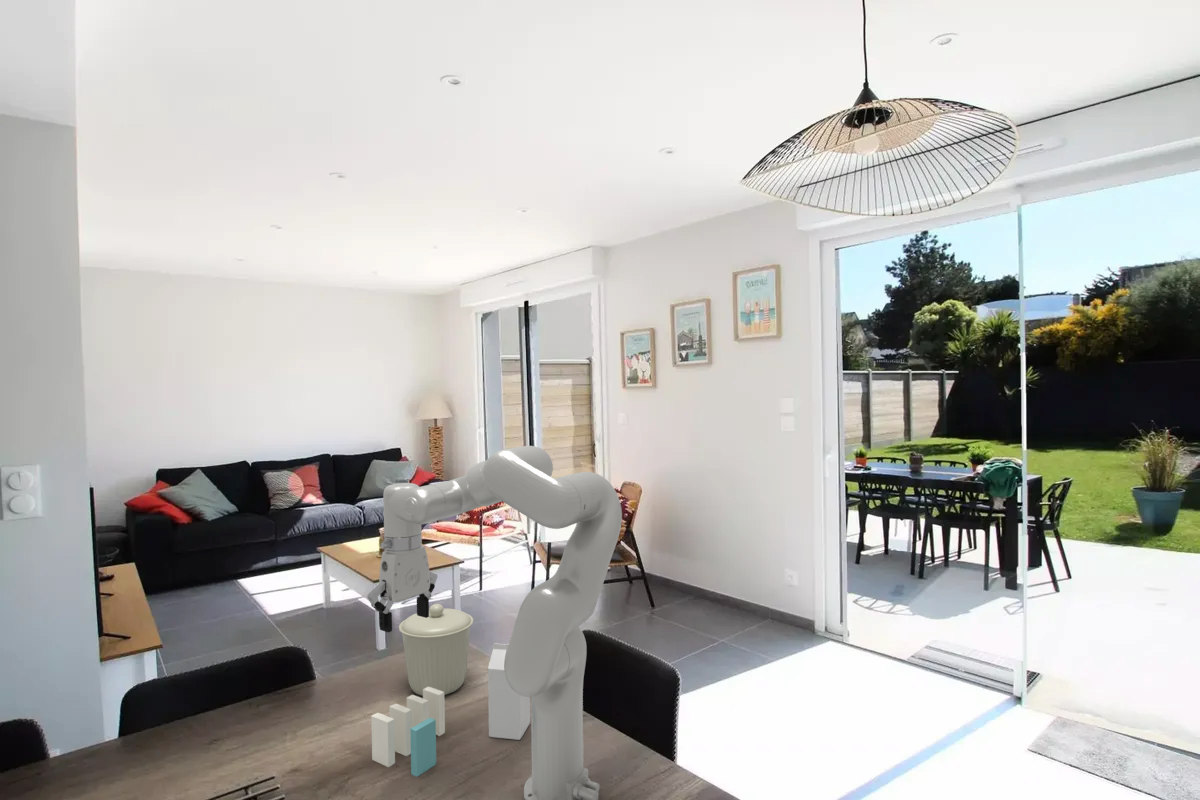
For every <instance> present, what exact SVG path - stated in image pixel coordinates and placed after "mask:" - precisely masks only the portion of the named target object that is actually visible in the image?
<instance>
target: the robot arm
mask: <svg viewBox="0 0 1200 800" xmlns="http://www.w3.org/2000/svg"><path fill="white" fill-rule="evenodd" d="M553 465H554V464H553V460H552V458H551V456H550V455H549V453H548V452H547V451H546V450H545V449H543V448H541V447H538V446H535V445H534V446H533V445H524V446H517V447H511V448H503V449H501V450H498V451H496V452H494V453H492V454H491V455H490V456H489V457H488V458H487V459H486V460H483V461H479V462H478V463H475V464H473V465H472V466H471V467H470V468H469V470H468V472H467V474H464V475H463V476H459V477H457V478H456V477H455V478H454V479H451V480H447V481H442V482H436V483H433V484H432V483H431V484H427V485H423V486H419V485H418V484H416V483H412V482H401V483H394V484H393V483H392V484H390V485H387V486H386V487H385V488H384V489H383V495H382V496H383V500H382V501H383V533H384V536H383V538H384V540H383V541H382V542H381V543H380V547H381V549H382V550H384V551H382V552H381V553H382V554H381V557H380V564H379V565H380V566H379V577H378V578H379V579H378V581H379V582H378V584H377V585H376V586H375V587H374V588H373V589H372V590H371V591H370V592H368V594H367V595H366V597H367V599H368V601H369V603H370V605H371V607H372V608H373V609H375V611H376V612H378V626H379V631H383V632H385V633H392V631H393V613H392V612H391V611H390V610H391V609H392V606H393V605H394V603H399V602H400V603H401V602H404V601H406V600H409V599H412V598H415V597H416V613H417V615H418V616H421V617H425V618H427V617H429V608H430V601H429V600H430V599H431V597H432V592H433V591H434V589H435V587H436V586H435V585H436V583H437V580H438V574H436V573H434V572H431V571H430V564H429V559H428V553H427V549H426V547H425V545H423V544H422V543H423V542H422V541H423V539H422V536H423V535H422V525H426V524H429V523H432V522H433V523H434V522H436V521H440V520H443V519H447V518H451V517H455V516H459V515H462V514H464V513H466V512H469V511H472V510H476V509H478V508H482V507H489V506H492V505H495V504H498V503H500V502H503V503H505V504H506V505H508V506H509V507H510V508H512V509H513V510H516V511H518V512H519V513H521V514H522V515H523V516H525V517H526V518H529V519H530V520H532V521H533V522H535V523H537V524H538V525H540V526H542V527H545V528H548V529H553V530H559V529H565V528H568V527H570V526H572V525H575V524H576V525H575V526H574V527H575V528H574V529H573V531H572V533H571V535H570V536H569V538H568V540H567V542H566V545H565V547H564V550H563V554H562V556H561V560H560V562H559V564H558V568H557V570H556V572H555V573H554V574H553V576H552V577H550V578H549V579H547V580H545V581H543V582H542V583H540V584H538V585H536V586H534V587H533V588H532V589H531V590H530V591H529V592H528V593H527V594H526V596H525V597H524V599H523V601H522V603H521V605H520V608H519V610H518V613H517V615H516V619H515V623H514V626H513V627H512V628H513V629H512V632H511V635H510V638H509V640H508V641H509V642H508V643H507V644H508V647H507V651H506V655H505V660H504V671H505V676H506V679H507V682H508V684H509V686H510V687H511V688H512V690H513V691H514V692H516V693H517V694H519V695H521V696H525V697H530V724H531V725H530V726H531V727H530V729H531V730H530V731H531V735H530V736H531V741H530V743H531V776H529V778H528V779H527V780H526V781H525V783H524V786H523V797H524V800H599V796H600V795H599V792H600V791H599V790H600V788H601V785H600V783H598V782H595V781H592V780H591V779H590V778H589V768H587V767H584V727H583V726H584V725H583V724H584V721H583V718H584V717H583V716H584V715H583V713H584V711H583V710H584V705H583V704H584V703H583V702H584V700H583V699H584V698H583V696H584V694H583V693H584V690H583V689H584V676H585V669H586V662H587V653H588V652H587V641H586V638H585V635H584V632H583V631H582V629H581V628H580V626H581V625H583V624H584V623H586V621H588V620H589V619H590V617H592V615H593V614H594V611H595V610H596V607H597V603H598V600H599V598H600V594H601V593H602V588H603V585H604V582H605V580H606V576H607V573H608V570H609V566H610V563H611V560H612V557H613V555H614V551H615V549H616V546H617V543H618V540H619V536H620V533H621V528H622V523H623V521H622V520H623V512H622V505H621V501H620V498H619V495H618V493H617V491H616V490H615V488H614V486H613V485H612V483H610V481H609V480H608V479H607V478H605V477H604V476H603V475H601V474H599V473H596V472H591V471H581V472H575V473H571V474H567V475H563V476H559V477H556V478H554V477H552V474H553V471H554V470H553V469H554V467H553ZM379 597H380V600H379Z"/></svg>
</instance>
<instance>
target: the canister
mask: <svg viewBox="0 0 1200 800" xmlns="http://www.w3.org/2000/svg"><path fill="white" fill-rule="evenodd" d="M473 624H474V618H473V616H472V615H470V614H469V613H466V612H464V611H463V610H459V609H455V608H445V607H444V606H443V605H442V604H441V603H433V604H432V605H430V606H429V617H427V618H425V617H421V616H418V615H417V612H416V613H413V614H411V615H410V616H408V617H407V618H406V619H404V620H402V621H401V622H400V623H399V625H398V630H399V632H400V633H401V634H402V635H401V636H402V644H403V652H404V660H405V666H406V672H407V673H406V674H407V679H408V680H407V681H408V684H409V687H410V688H411V690H412V691H413V692H414V693H415V694H416V695H419V696H422V697H423V689H424V688H426V687H431V688H434V689H437V690H440V691H443V692H444V696H446V695H450V694H452V693H454V692H455V691H457V690H458V689H460V687H461V686H463V683H464V681H465V679H466V674H467V666H468V657H469V646H470V636H471V626H472V625H473Z"/></svg>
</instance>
